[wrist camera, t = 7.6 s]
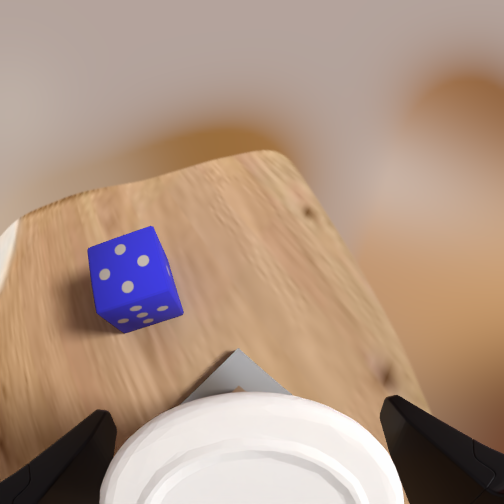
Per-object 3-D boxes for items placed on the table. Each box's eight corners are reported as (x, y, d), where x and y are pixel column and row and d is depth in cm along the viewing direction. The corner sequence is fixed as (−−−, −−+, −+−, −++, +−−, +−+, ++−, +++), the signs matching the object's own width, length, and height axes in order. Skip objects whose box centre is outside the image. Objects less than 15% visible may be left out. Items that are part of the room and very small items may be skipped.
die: (184, 314, 22) (170, 290, 18) (123, 334, 21) (96, 314, 17) (167, 258, 24) (152, 224, 20) (111, 277, 23) (86, 247, 19)
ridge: (326, 552, 13) (343, 575, 9) (159, 426, 18) (139, 429, 14) (398, 476, 16) (427, 485, 12) (238, 349, 21) (237, 336, 17)
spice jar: (288, 402, 15) (415, 375, 4) (288, 478, 13) (396, 611, 1) (204, 402, 15) (87, 373, 4) (203, 478, 13) (107, 613, 1)
